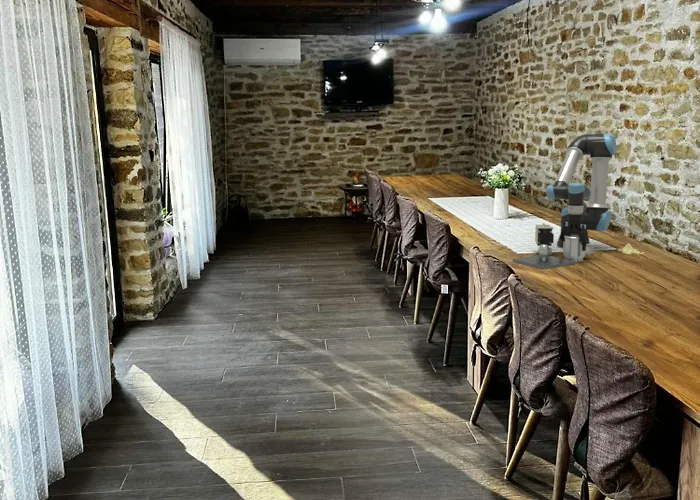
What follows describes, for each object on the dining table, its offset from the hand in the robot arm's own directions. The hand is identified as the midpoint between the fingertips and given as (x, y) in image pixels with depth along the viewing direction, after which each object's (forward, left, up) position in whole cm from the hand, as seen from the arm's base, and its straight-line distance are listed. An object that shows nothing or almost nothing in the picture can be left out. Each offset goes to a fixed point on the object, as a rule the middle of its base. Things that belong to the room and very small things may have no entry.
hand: (573, 255), depth 319 cm
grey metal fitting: (0, 0, -3) cm, 3 cm away
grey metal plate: (+17, -4, -3) cm, 18 cm away
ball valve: (+2, -19, -3) cm, 19 cm away
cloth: (-47, -4, -6) cm, 47 cm away
